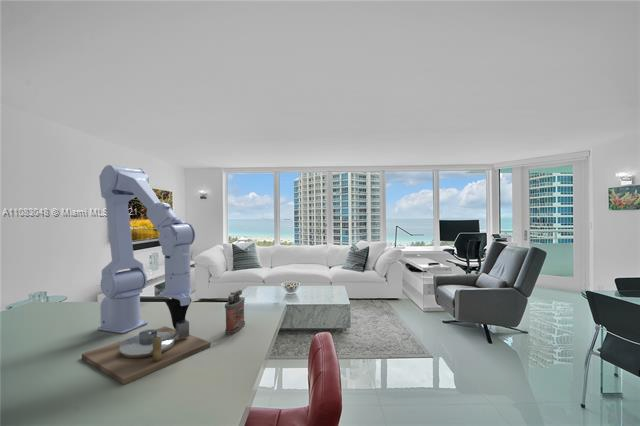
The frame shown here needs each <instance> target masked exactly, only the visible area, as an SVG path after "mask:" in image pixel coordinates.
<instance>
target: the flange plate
mask: <svg viewBox="0 0 640 426" xmlns="http://www.w3.org/2000/svg"><path fill="white" fill-rule="evenodd" d="M174 330H175V333H169V332H157V330H155V329H152V328H151V329H145V330H142V331H140V332H139V333H138V336H137V335H134V336H135V337H134V336H131V337H132V338H131V337H129V338H130V339H128V338H126V339H127V340H126V341H124V342H123V343H122V344H121V345H120V355H121V356H123V357H127V358H142V357H148V356H152V355H153V338H156V337H161V353H162V352H164V351H166V350H168V349H170V348H171V347H172V346H173V345H174V344H175V341H176V340H180V339H183V338H187V337H189V335H190V321H189V320H187V319H186V318H185V319H184V320H180V321H176V322H175V329H174Z"/></svg>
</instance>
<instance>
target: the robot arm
mask: <svg viewBox="0 0 640 426" xmlns="http://www.w3.org/2000/svg"><path fill="white" fill-rule="evenodd" d="M98 177H99V178H98V179H99V186H100V187H99V188H100V195H101V198H103V199H104V200H105V202H104V203H105V209H106V218H107V227H108V228H107V229H108V235H109V236H108V237H109V246H110V256H111V261H110V262H109V263H108V264H107V265H105V266H104V267H103V268H102V269H101V278H100V279H101V280H100V285H99V286H100V290H101V293H102V294H103V295H104V296H105V297H103V298H102V300H101V301H100V302H101V303H100V326H99V327H97V330H99V331H105V332H112V333H118V334H125V333H127V332H130V331H132V330H135V329H137V328H140V327H142V326H145V325H146V324H148V323H149V322H148V320H147V321H146V320H141V294H142V293H143V289H145V287H146V286H147V283H148V275H147V274H146V273H147V272H145V268H144V263H143V262H141V261H139V260H137V259H136V258H135V256H134V247H133V239H132V229H131V222H130V220H131V219H130V211H129V202H130V201H131V200H132V199H135V198H137V200H138V201H139V202H140V203H141V204H142V205H143V206H144V207H145V209H146V217H147V218H148V220H149V221H150V223H151V224H152V225H153V226H154V227H153V228H155V229H156V231H157V232H158V233H159V235H158V237H157V238H158V242H159V245H160V247H161V254H162V256H164V287H165V288H164V291H160V292H159V296H160V297H162V298H163V297H167V298H169V299H165V300H164V302H165V304H166V306H167V308H168V310H169V313H170V317H171V323H172V327H173V329H174V330H175V322H176V321H180V320H184V319H186V315H187V311H188V308H189V307H190V305H191V303H192V298H191V294H192V287H191V245H193V243H194V241H195V239H196V232H195V229H194V227H193V225H192V224H191V223H189V222H185V221H184V220H181V219H180V218H179V216H178V215H177V214H176V213H175V211H174V210H173V209H172V207H171V204H169V203H166V202H164V201H160V199H159V198H158V196H157V194H156V193H155V191H154V190H153V189H152V187H151V185H150V184H149V183H150V176H149V174H147V171H145V170H144V169H143V168H140V167H139V168H134V167H133V168H132V167H125V166H115V165H111V164H107V165H105V166H104V167H103V169H102V170H101V172H100V175H99V176H98Z"/></svg>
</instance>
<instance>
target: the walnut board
mask: <svg viewBox="0 0 640 426" xmlns="http://www.w3.org/2000/svg"><path fill="white" fill-rule="evenodd" d="M154 330H157V332H169V333H175V329H174V328H171V327H169V326H165V325H164V326H161V327H158V328H156V329H154ZM138 335H139V334H138ZM138 335H134V336H130V337H129V338H126V339H122V340H118V341H116V342H113V343H110V344H107V345H104V346H101V347H98V348H95V349H92V350H89V351H87V352H83V353H81V359H82V360H84V361H85V362H87V363H88V364H90V365H91V366H93V367H94V368H97V369H98V370H100V371H101V372H103V373H105V374H106V375H108V376H109V377H111V378H112V379H114V380H116V381H118V382H119V383H121V384H123V385H126V384H129V383H131V382H134V381H135V380H138V379H139V378H142V377H145V376H146V375H149V374H150V373H154V372H155V371H157V370H160V369H162V368H165V367H167V366H170V365H171V364H174V363H176V362H178V361H181V360H183V359H185V358H187V357H190V356H192V355H194V354H196V353H199V352H201V351H203V350H205V349H208V348H210V347H211V341H208V340H205V339H202V338H200V337H197V336H194V335H190V334H189V337H187V338H183V339H180V340H176V341H175V344H174V345H173V346H172V347H171V348H170V349H168V350H166V351H164V352H162V353H161V337H156V338H153V355H152V356H148V357H142V358H127V357H123V356H121V355H120V345H121V344H122V343H123V342H124V341H126V340H127V339H130V338H132V337H135V336H138Z"/></svg>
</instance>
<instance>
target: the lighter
mask: <svg viewBox="0 0 640 426" xmlns="http://www.w3.org/2000/svg"><path fill="white" fill-rule="evenodd" d="M242 294H243V289H242V290H241V289H237V290H235V291H231V292H230V294H229V295H227V296H228V301H227V302H226V303H225V305H224V309H225V331H224V334H225V335H227V336H228V335H229V336H231V334H232V335H235V334H236V332H237V333H238V332H240V331H241V330H242V329H243V328H244V327H245V326H246V321H245V300H246V299H245V297H243V296H242ZM244 325H245V326H244ZM243 326H244V327H243ZM242 327H243V328H242ZM239 330H240V331H239Z"/></svg>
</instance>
